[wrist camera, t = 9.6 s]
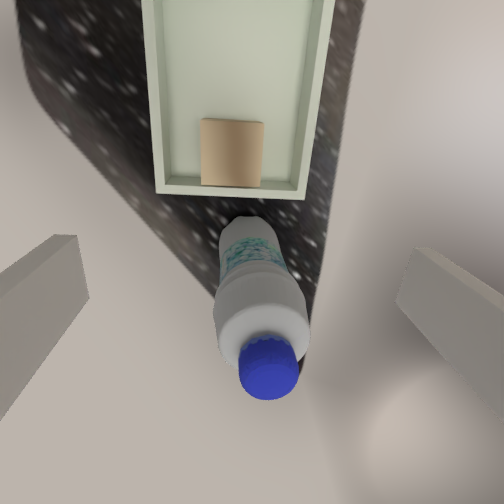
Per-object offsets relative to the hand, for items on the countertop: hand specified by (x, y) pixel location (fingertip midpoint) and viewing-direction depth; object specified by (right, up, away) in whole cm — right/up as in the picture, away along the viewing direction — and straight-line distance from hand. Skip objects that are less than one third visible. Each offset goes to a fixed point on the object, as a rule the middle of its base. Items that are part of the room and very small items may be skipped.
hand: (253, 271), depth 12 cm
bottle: (-1, +3, +22) cm, 22 cm away
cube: (-2, +11, +16) cm, 20 cm away
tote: (-2, +16, +15) cm, 21 cm away
